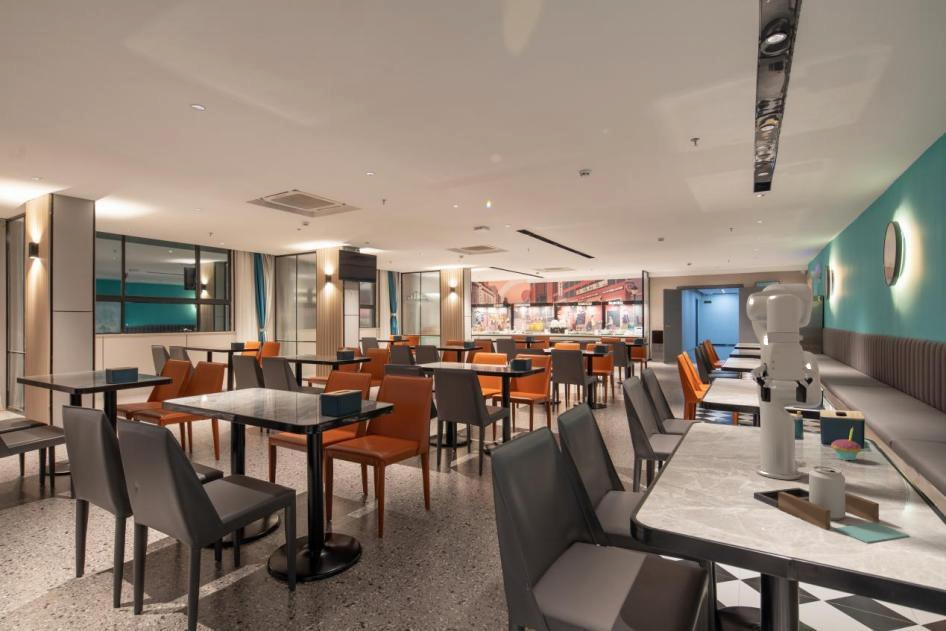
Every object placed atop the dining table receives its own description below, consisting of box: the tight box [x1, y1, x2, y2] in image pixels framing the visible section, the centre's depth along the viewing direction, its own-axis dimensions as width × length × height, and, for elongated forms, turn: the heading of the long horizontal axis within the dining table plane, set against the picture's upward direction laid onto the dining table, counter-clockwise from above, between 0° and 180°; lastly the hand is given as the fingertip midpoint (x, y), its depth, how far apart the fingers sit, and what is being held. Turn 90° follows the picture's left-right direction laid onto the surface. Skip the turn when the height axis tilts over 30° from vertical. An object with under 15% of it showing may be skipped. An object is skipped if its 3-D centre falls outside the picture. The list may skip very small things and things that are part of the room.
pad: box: [833, 522, 910, 544], centre depth 115 cm, size 13×8×1 cm, turn 105°
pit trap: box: [753, 487, 809, 509], centre depth 136 cm, size 16×8×2 cm, turn 105°
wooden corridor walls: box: [778, 491, 880, 531], centre depth 126 cm, size 17×13×4 cm
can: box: [808, 465, 846, 521], centre depth 126 cm, size 8×8×12 cm
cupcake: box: [830, 426, 862, 461], centre depth 176 cm, size 9×8×12 cm
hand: (783, 401), depth 135 cm, fingers open, 9 cm apart
